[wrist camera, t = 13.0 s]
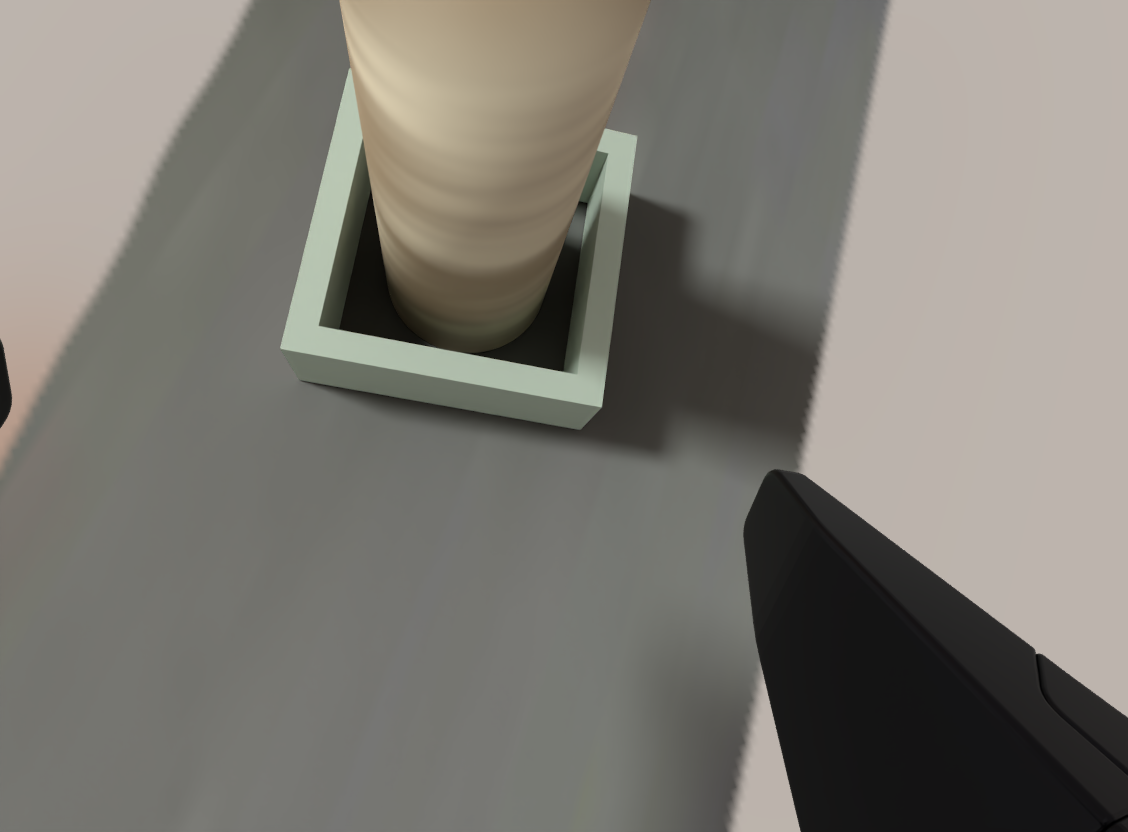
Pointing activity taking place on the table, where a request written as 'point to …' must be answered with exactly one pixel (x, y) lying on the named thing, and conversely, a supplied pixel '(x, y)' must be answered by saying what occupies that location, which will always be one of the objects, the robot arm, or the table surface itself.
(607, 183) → the sage collar
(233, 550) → the table surface
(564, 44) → the maple dowel
